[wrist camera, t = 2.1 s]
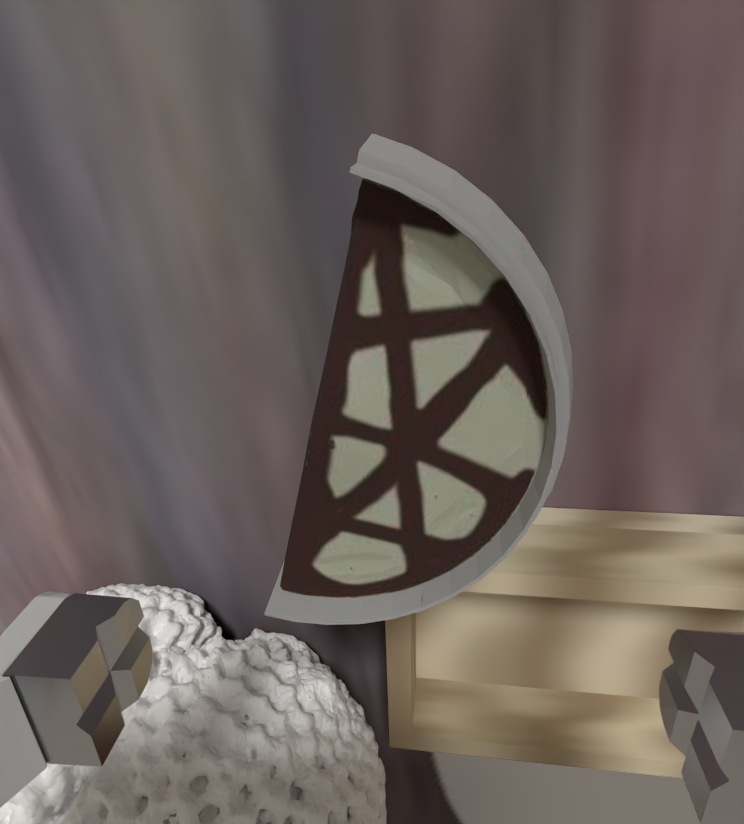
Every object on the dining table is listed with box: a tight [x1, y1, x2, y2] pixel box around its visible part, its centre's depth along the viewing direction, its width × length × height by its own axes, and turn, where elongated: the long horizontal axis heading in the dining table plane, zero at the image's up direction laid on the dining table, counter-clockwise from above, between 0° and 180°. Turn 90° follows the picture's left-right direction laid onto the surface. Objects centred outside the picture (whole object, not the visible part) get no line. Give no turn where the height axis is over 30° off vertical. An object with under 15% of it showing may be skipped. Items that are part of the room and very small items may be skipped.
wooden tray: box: [385, 507, 744, 778], centre depth 25 cm, size 15×10×4 cm
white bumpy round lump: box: [0, 583, 387, 824], centre depth 26 cm, size 20×18×16 cm
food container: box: [264, 133, 573, 625], centre depth 17 cm, size 12×6×10 cm, turn 167°
